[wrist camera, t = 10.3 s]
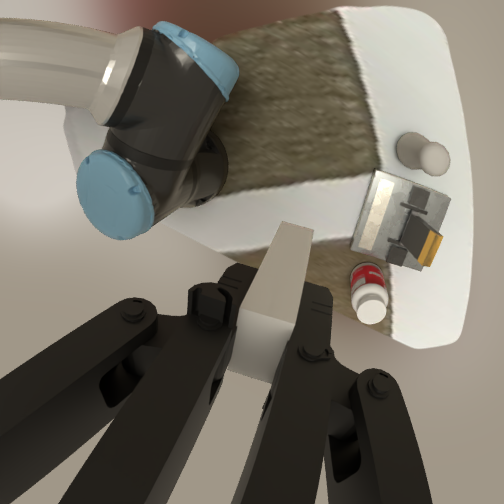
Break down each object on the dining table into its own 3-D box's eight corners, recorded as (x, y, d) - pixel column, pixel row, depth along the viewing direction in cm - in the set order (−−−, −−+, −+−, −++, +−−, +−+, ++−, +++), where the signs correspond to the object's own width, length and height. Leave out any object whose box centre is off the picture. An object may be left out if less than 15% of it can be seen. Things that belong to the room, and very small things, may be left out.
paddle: (396, 242, 43) (420, 268, 36) (409, 208, 40) (436, 231, 33) (404, 243, 43) (428, 269, 36) (417, 210, 40) (444, 233, 33)
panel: (350, 244, 48) (350, 252, 46) (374, 168, 41) (377, 171, 39) (418, 266, 46) (422, 274, 43) (446, 195, 39) (453, 200, 37)
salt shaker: (429, 162, 38) (461, 179, 27) (399, 170, 40) (422, 189, 29) (420, 128, 36) (451, 132, 25) (389, 135, 38) (410, 142, 27)
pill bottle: (388, 277, 49) (398, 314, 39) (363, 295, 52) (366, 334, 42) (369, 254, 48) (376, 288, 38) (343, 274, 51) (344, 310, 41)
